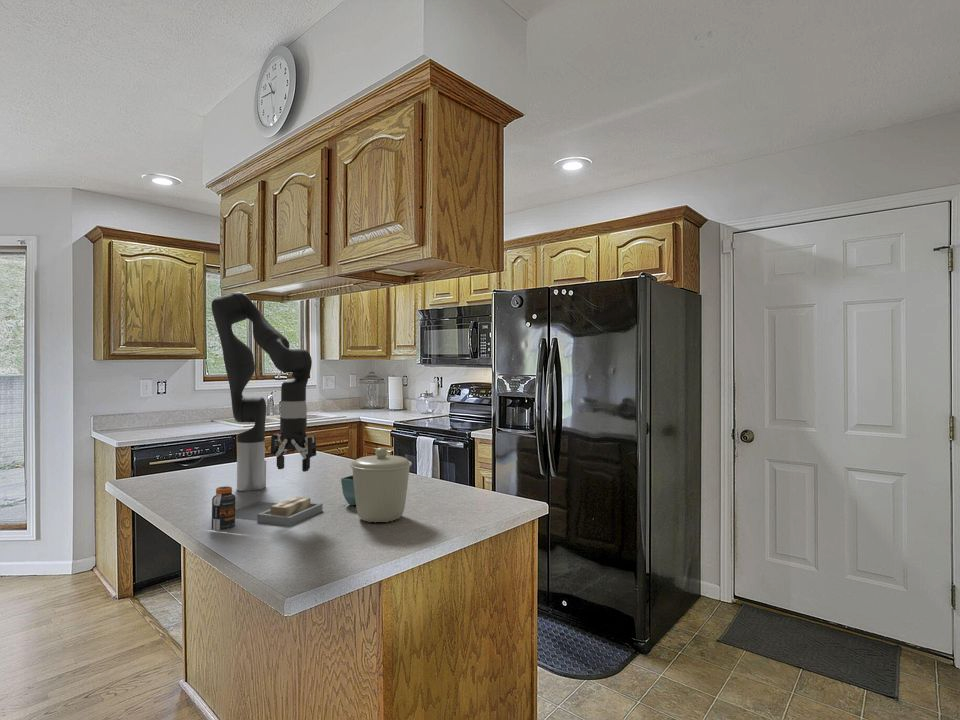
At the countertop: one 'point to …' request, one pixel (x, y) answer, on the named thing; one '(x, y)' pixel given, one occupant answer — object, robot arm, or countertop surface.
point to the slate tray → (289, 520)
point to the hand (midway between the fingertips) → (293, 470)
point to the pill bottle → (223, 509)
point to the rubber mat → (253, 510)
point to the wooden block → (291, 506)
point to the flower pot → (348, 489)
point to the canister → (380, 486)
